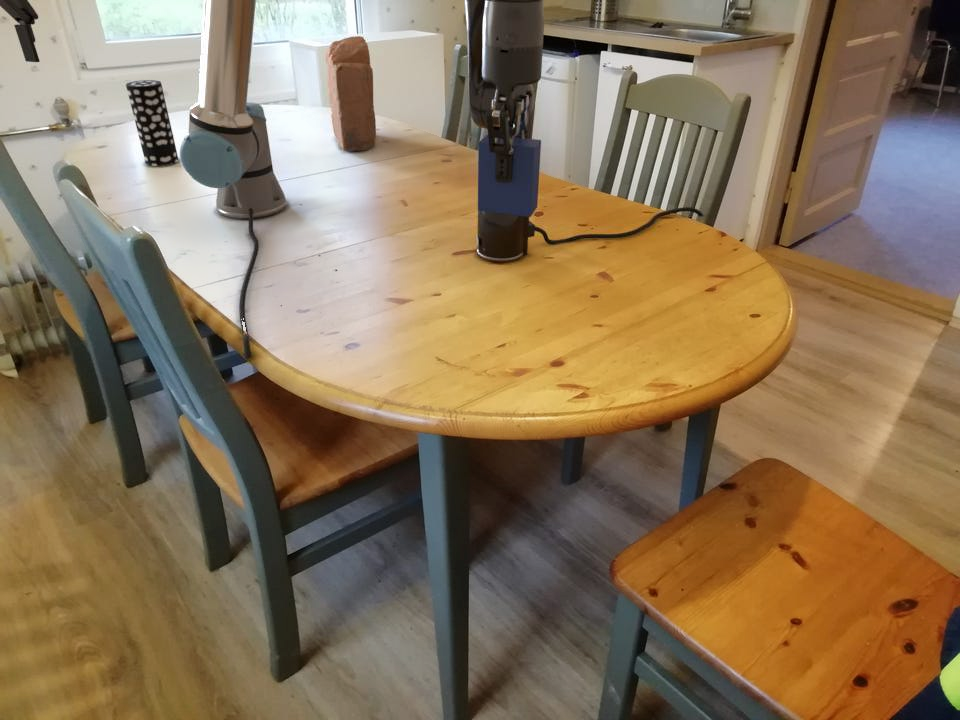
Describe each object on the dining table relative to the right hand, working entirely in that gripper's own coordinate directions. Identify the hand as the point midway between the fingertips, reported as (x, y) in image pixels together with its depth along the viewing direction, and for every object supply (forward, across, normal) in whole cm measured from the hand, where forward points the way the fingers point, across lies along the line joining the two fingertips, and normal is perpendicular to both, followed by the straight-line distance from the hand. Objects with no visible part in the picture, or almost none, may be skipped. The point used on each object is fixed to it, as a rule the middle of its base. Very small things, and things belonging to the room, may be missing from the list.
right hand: (508, 175), depth 94 cm
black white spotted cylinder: (+17, -61, -114) cm, 130 cm away
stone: (+27, -96, -74) cm, 124 cm away
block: (+5, 0, 0) cm, 5 cm away
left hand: (-5, -15, -103) cm, 105 cm away
